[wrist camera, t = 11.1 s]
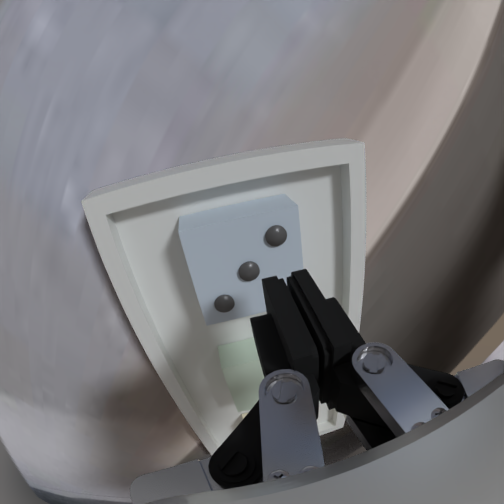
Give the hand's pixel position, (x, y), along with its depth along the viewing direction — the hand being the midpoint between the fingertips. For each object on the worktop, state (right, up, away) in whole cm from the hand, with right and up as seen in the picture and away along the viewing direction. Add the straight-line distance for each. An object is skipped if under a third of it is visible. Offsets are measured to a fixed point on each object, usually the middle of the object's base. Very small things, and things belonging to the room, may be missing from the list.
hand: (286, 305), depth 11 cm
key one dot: (-1, -6, +9) cm, 11 cm away
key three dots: (-2, +2, +5) cm, 6 cm away
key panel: (-1, -5, +10) cm, 11 cm away
